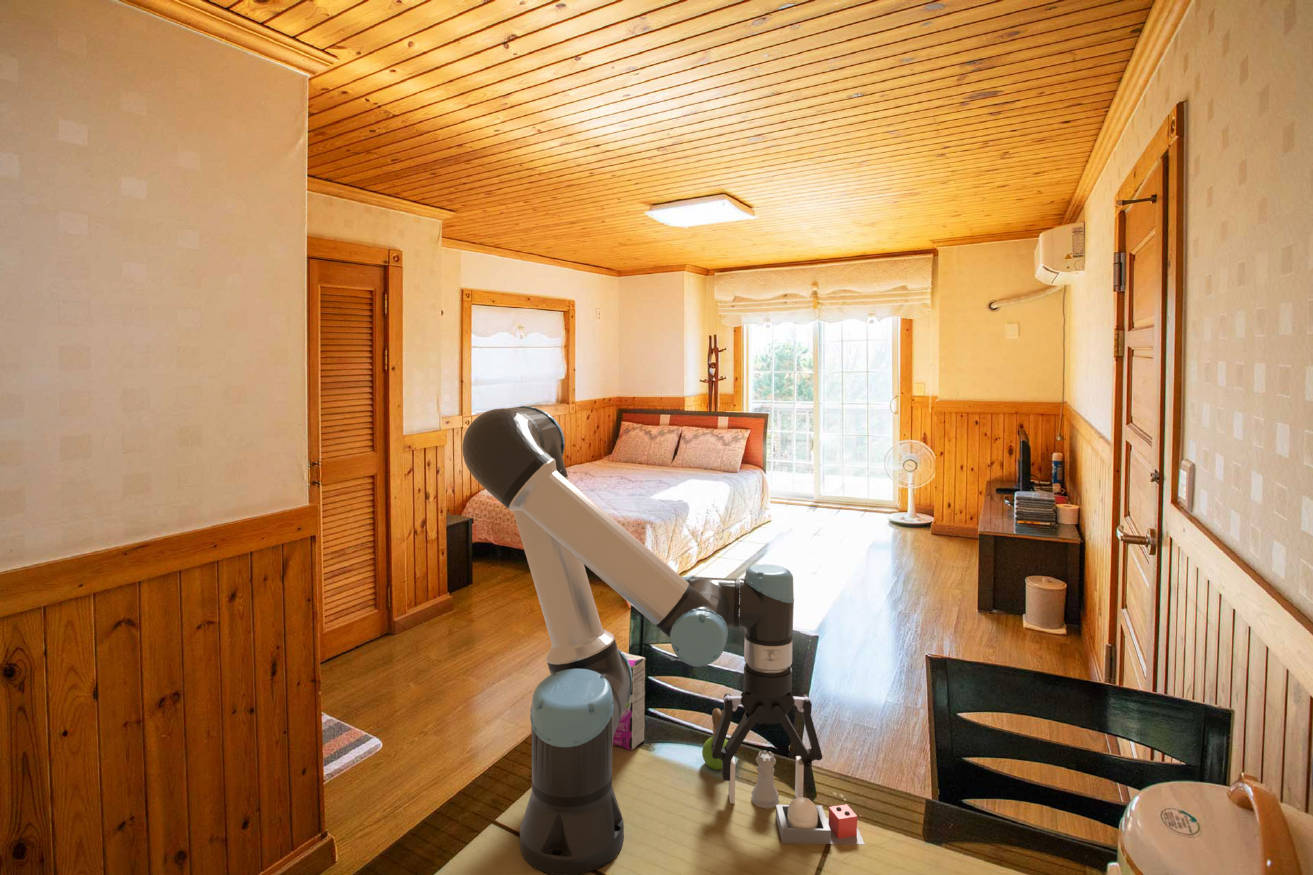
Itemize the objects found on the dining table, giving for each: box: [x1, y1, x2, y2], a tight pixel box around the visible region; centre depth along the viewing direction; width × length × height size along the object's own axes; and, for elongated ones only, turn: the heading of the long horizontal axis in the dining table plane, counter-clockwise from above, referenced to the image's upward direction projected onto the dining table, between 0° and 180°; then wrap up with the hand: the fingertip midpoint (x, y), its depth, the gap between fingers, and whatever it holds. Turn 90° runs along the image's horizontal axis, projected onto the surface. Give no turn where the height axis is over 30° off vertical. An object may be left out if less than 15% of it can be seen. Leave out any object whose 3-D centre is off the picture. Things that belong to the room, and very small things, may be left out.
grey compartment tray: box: [775, 803, 866, 846], centre depth 103 cm, size 12×6×4 cm, turn 89°
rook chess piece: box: [750, 750, 780, 809], centre depth 110 cm, size 4×4×8 cm
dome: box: [787, 796, 818, 829], centre depth 103 cm, size 4×4×4 cm
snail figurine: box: [701, 707, 729, 771], centre depth 120 cm, size 5×6×12 cm
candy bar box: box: [612, 651, 646, 752], centre depth 130 cm, size 11×5×16 cm, turn 60°
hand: (765, 798), depth 110 cm, fingers open, 10 cm apart
